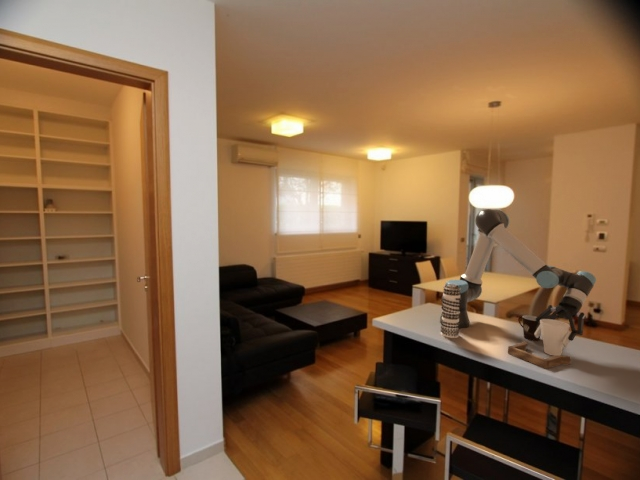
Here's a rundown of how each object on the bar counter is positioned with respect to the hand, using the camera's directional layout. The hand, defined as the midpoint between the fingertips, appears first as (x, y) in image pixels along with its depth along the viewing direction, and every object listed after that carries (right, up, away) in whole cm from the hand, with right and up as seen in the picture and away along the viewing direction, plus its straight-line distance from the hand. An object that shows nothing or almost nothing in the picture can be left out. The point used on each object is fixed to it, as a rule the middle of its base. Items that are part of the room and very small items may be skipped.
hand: (549, 340), depth 137 cm
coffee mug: (+5, -5, +21) cm, 22 cm away
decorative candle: (-34, -4, +22) cm, 40 cm away
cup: (+3, -6, +2) cm, 7 cm away
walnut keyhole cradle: (-8, -6, -4) cm, 11 cm away
